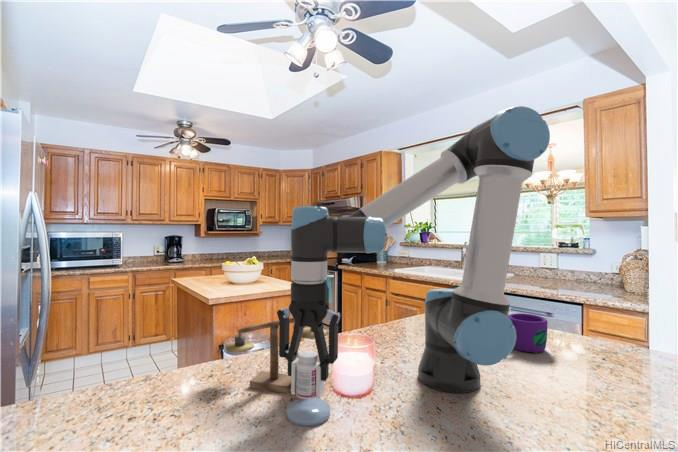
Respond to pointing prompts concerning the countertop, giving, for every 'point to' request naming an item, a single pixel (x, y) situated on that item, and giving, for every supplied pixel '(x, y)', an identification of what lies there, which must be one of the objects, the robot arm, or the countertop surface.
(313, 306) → the robot arm
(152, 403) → the countertop surface
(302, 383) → the pill bottle
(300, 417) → the grey smooth pebble
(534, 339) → the mug
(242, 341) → the balance
